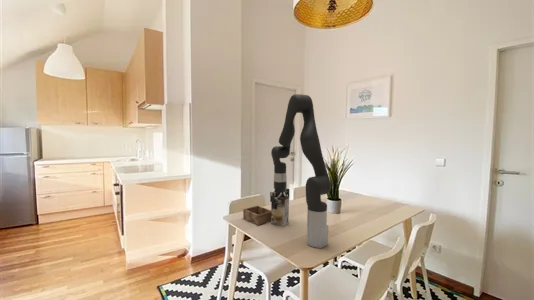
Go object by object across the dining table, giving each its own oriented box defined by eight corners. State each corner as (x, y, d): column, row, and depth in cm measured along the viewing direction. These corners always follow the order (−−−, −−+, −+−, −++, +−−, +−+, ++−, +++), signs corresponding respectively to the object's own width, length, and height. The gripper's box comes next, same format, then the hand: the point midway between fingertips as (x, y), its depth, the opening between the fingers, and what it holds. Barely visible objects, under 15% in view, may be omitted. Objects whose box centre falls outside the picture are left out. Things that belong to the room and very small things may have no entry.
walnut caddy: (273, 220, 148) (273, 211, 147) (258, 225, 140) (258, 215, 140) (257, 214, 159) (257, 205, 158) (243, 218, 151) (243, 209, 150)
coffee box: (270, 223, 143) (270, 196, 142) (275, 220, 149) (275, 194, 148) (284, 226, 139) (284, 199, 137) (289, 222, 144) (289, 196, 143)
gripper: (275, 183, 134) (275, 212, 136) (293, 179, 144) (292, 206, 145) (266, 180, 140) (266, 208, 141) (283, 177, 149) (283, 203, 151)
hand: (279, 207), depth 143 cm, fingers closed on coffee box, 7 cm apart
